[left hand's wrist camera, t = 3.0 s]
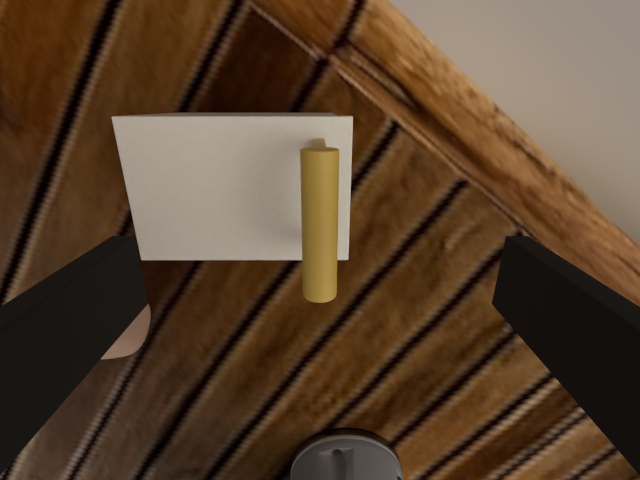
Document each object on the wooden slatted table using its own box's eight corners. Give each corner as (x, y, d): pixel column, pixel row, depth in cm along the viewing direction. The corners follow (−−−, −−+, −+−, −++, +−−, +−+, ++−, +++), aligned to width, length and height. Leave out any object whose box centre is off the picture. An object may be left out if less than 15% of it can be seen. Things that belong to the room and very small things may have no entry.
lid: (351, 115, 22) (370, 122, 14) (347, 255, 26) (360, 322, 18) (118, 116, 22) (5, 122, 14) (146, 255, 26) (69, 323, 18)
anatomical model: (129, 300, 34) (140, 390, 38) (148, 280, 37) (156, 364, 42) (-10, 289, 33) (17, 381, 37) (23, 270, 37) (44, 356, 41)
